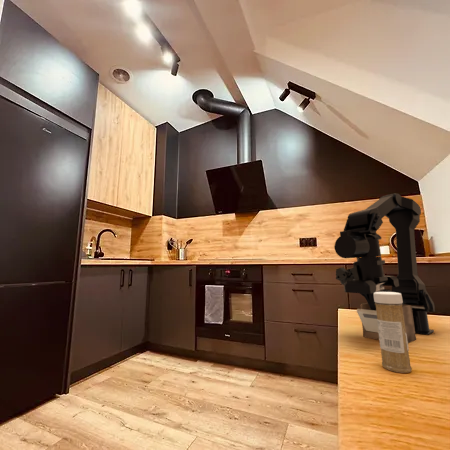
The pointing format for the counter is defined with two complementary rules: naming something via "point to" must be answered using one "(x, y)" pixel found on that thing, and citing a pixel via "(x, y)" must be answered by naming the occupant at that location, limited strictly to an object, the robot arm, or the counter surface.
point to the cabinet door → (368, 319)
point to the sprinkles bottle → (392, 332)
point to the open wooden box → (407, 320)
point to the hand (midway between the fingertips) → (377, 318)
